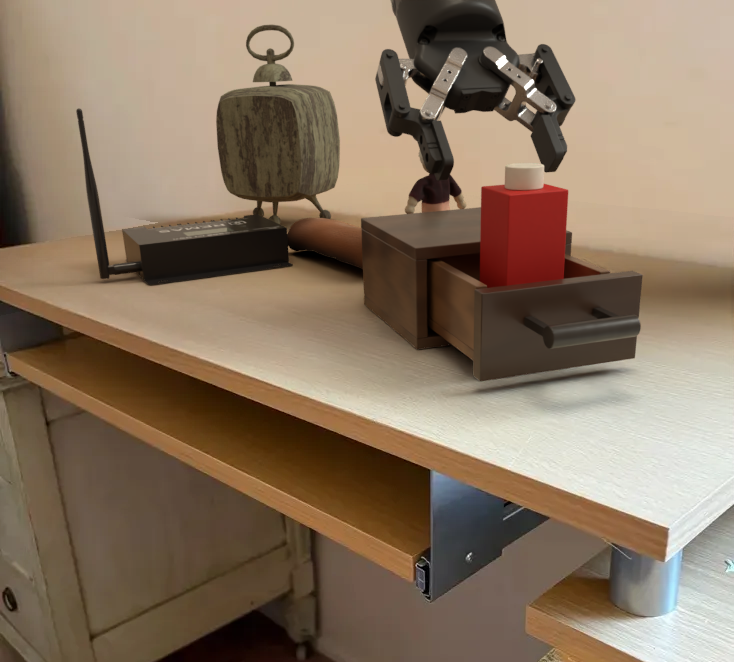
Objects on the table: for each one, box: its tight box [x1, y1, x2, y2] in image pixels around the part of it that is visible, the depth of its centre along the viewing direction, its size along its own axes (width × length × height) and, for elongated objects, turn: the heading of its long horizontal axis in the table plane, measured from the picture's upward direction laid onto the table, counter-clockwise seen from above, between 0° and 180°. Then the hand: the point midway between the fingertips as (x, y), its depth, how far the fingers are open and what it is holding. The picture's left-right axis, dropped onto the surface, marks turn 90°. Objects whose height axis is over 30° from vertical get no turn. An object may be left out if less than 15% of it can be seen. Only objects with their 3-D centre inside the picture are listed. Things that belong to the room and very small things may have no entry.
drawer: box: [427, 253, 644, 382], centre depth 58 cm, size 17×12×6 cm
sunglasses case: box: [287, 217, 363, 270], centre depth 91 cm, size 18×7×7 cm
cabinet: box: [360, 206, 573, 350], centre depth 69 cm, size 14×13×8 cm
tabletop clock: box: [215, 24, 341, 225], centre depth 109 cm, size 14×9×25 cm, turn 66°
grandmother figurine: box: [404, 149, 468, 214], centre depth 89 cm, size 8×4×13 cm, turn 132°
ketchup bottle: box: [480, 162, 569, 288], centre depth 58 cm, size 4×4×12 cm
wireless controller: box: [75, 108, 294, 286], centre depth 89 cm, size 20×14×17 cm
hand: (502, 169), depth 59 cm, fingers open, 8 cm apart
